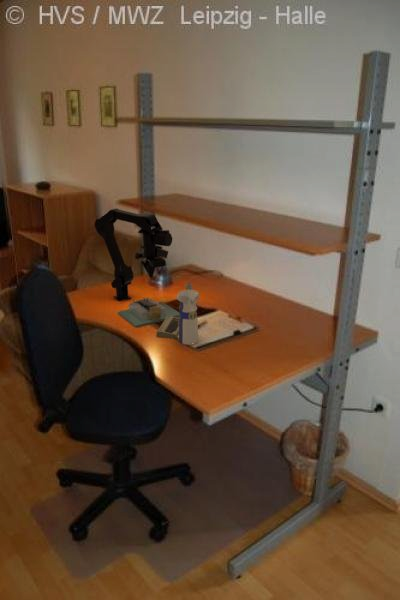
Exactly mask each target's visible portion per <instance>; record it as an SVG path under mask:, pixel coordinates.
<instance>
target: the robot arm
mask: <svg viewBox="0 0 400 600" xmlns="http://www.w3.org/2000/svg"><path fill="white" fill-rule="evenodd" d="M118 220H119V221H122V222H126V223H130V224H134V225H135V226H137V227H138V228H140V229H139V230H138V232H137V233H138V234H142V245H141V246H140V247H141V249H143V250H142V251H137V252H136V253H135V255H134V256H135V257H134V258H135V260H140V258H141V259H142V261H141V262H140V263H141V264H142V267H144V270H145V271H146V273H147V275H148V278H149V279H150V278H151V279H152V278H153V277H154V273H155V269H156V268H160V267H166V265H167V261H166V260H165V259H167V258H168V255H169V251H168V250H166V249H163V248H162V246H164V247H170V246H171V245H172V243H173V236H172V233H170V230H169V229H163V227H162V226H161V224H160V222H159V221H158V218H157V216H156V215H155V214H151V213H141V214H138V213H134V212H130V211H126V210H122V209H119V208H112V209H109V210H108V212H106V213H105V214H103V215H102V216H101V217H99V218H97V219H95V221H94V229H95V230H96V232H97V233H98V235H99V236H100V237H101V238H102V239H103V240H104V243H105V245H106V249H107V251H108V253H109V256H110V259H111V262H112V264H113V267H114V272H113V275H114V280H113V281H112V282H111V283H110V284H111V287H112V288H113V289H115V295H113V298H114V299H116V301H118V302H122V301H126V300H131V299H132V297H131V296H130V295H129V285H131V284H132V281H133V279H134V272H133V269H132V266H131V265H129V266H128V265H127V264H126V263H125V260H124V258H123V256H122V253H121V250H120V247H119V245H118V243H117V240H116V237H115V225H114V224H115V223H116V222H117V221H118Z"/></svg>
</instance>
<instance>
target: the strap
mask: <svg viewBox="0 0 400 600" xmlns="http://www.w3.org/2000/svg"><path fill="white" fill-rule="evenodd" d="M137 301H138V303H140V304H142V305H145V306H147V307H152V306H157V305H156V304H154V303H151V302H149V301H146V300H144V298H143V299H140V300H137Z"/></svg>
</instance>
